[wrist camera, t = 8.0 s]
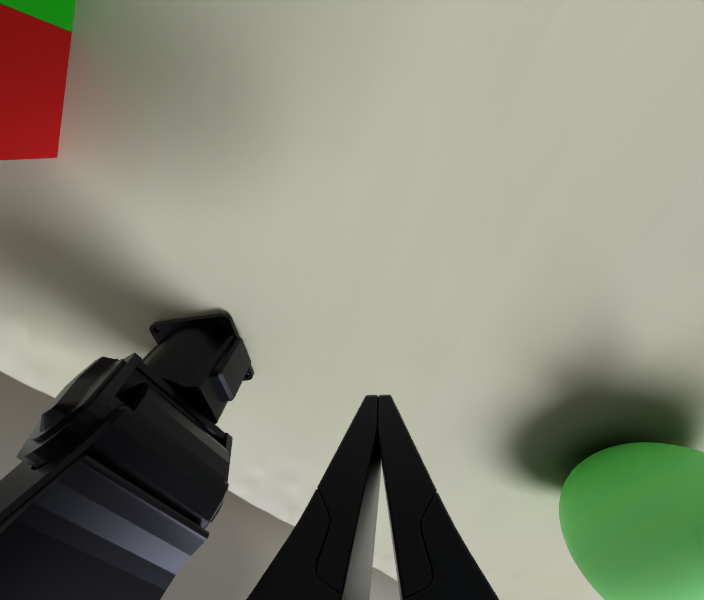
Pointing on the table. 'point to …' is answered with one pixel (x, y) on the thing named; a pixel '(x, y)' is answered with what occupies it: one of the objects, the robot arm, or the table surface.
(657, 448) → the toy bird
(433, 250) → the table surface
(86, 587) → the robot arm
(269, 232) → the table surface
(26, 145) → the puzzle toy
